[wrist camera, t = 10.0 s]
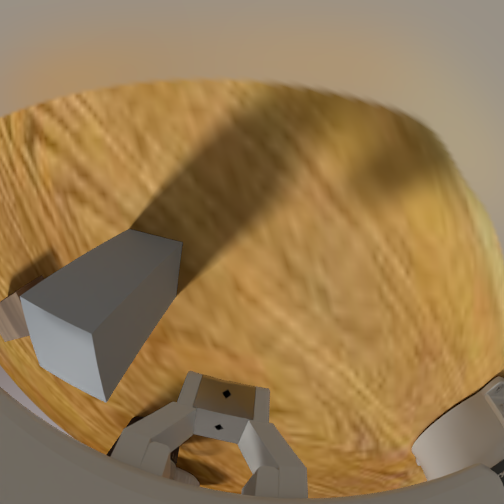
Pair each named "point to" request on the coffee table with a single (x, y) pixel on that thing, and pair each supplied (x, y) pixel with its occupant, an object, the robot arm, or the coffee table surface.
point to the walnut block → (15, 314)
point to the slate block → (102, 309)
